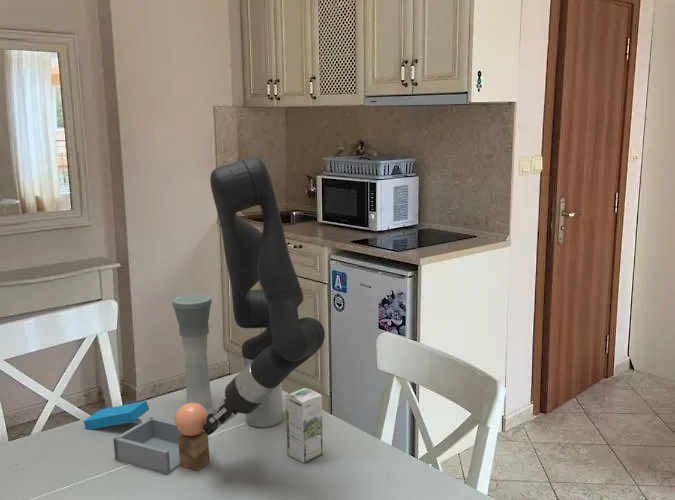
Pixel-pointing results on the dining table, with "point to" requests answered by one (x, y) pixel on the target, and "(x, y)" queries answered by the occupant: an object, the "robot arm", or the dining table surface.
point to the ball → (191, 419)
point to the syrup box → (304, 424)
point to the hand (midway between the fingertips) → (207, 430)
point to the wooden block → (193, 451)
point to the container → (195, 345)
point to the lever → (117, 415)
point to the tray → (150, 445)
